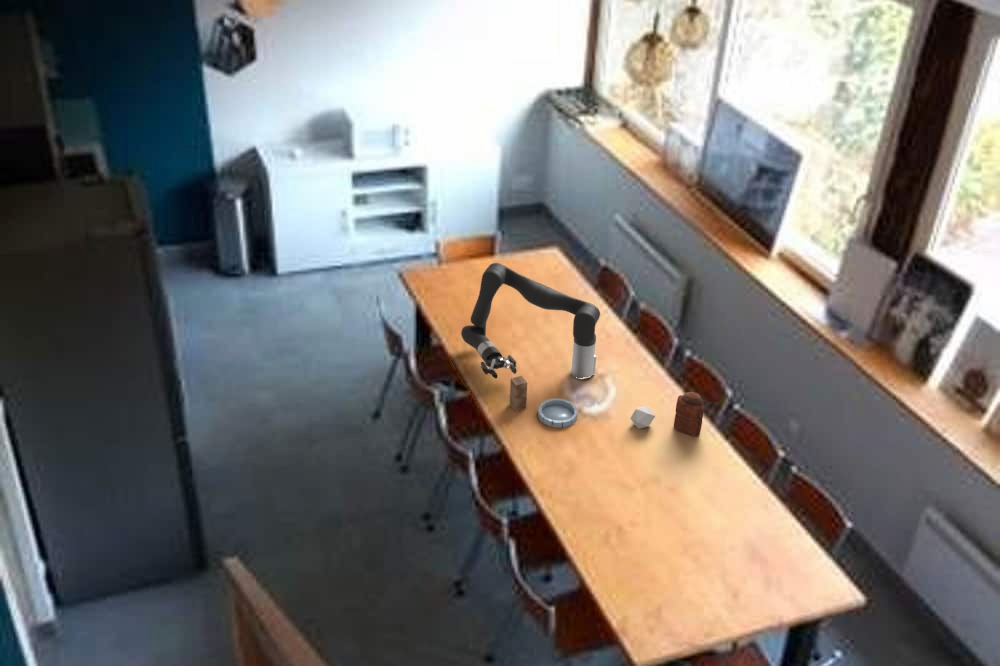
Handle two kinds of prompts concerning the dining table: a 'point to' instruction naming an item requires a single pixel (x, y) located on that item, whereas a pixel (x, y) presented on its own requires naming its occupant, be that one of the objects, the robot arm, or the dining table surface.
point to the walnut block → (518, 393)
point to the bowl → (557, 413)
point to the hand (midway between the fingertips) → (506, 374)
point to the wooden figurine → (689, 414)
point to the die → (642, 417)
